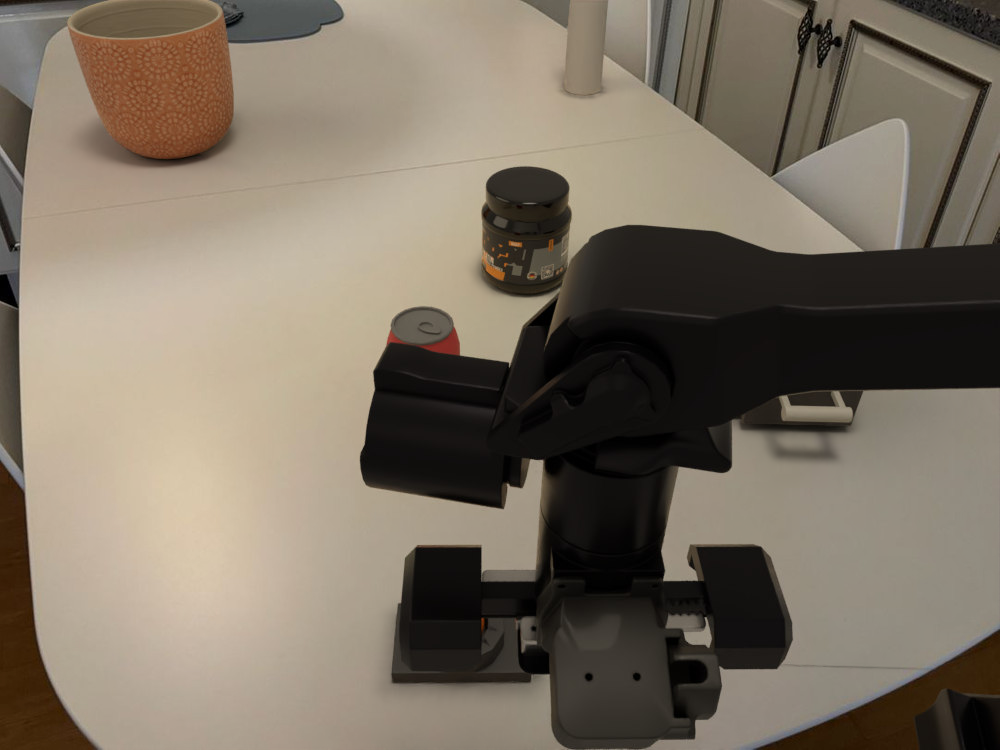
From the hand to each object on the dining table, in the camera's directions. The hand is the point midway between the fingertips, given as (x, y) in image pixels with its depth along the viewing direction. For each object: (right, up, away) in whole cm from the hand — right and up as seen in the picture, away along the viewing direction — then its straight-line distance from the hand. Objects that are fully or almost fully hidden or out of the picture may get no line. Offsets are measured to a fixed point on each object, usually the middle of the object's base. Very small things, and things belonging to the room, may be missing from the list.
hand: (578, 694), depth 48 cm
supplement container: (-1, +30, +56) cm, 64 cm away
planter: (-54, +53, +84) cm, 113 cm away
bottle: (+10, +69, +105) cm, 126 cm away
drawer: (+24, +16, +37) cm, 47 cm away
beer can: (-11, +13, +35) cm, 39 cm away
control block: (-7, -2, +16) cm, 18 cm away
